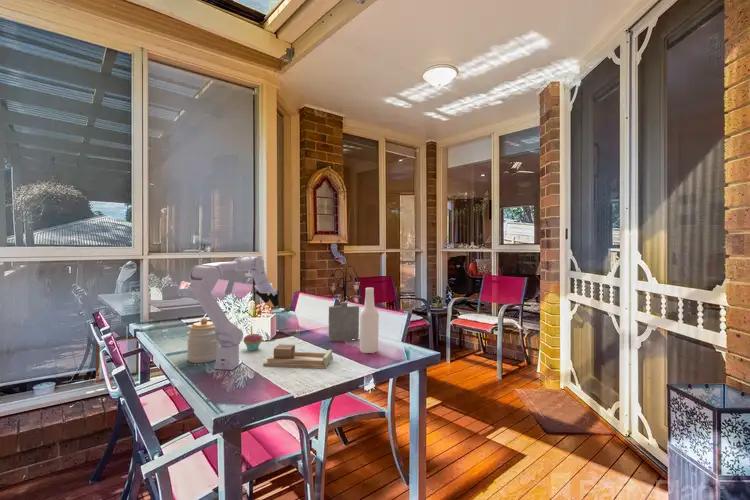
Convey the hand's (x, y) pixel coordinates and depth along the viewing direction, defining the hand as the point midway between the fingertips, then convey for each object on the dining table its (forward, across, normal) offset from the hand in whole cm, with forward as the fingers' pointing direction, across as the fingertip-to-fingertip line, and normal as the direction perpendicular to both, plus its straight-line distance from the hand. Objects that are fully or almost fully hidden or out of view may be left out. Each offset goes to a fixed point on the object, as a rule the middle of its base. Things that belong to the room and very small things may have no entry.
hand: (271, 303), depth 173 cm
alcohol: (+30, -38, -17) cm, 51 cm away
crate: (+13, -20, +14) cm, 28 cm away
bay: (+16, -25, +11) cm, 32 cm away
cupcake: (+18, +5, +15) cm, 24 cm away
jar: (+8, +9, +35) cm, 36 cm away
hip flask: (+35, -15, -21) cm, 44 cm away
